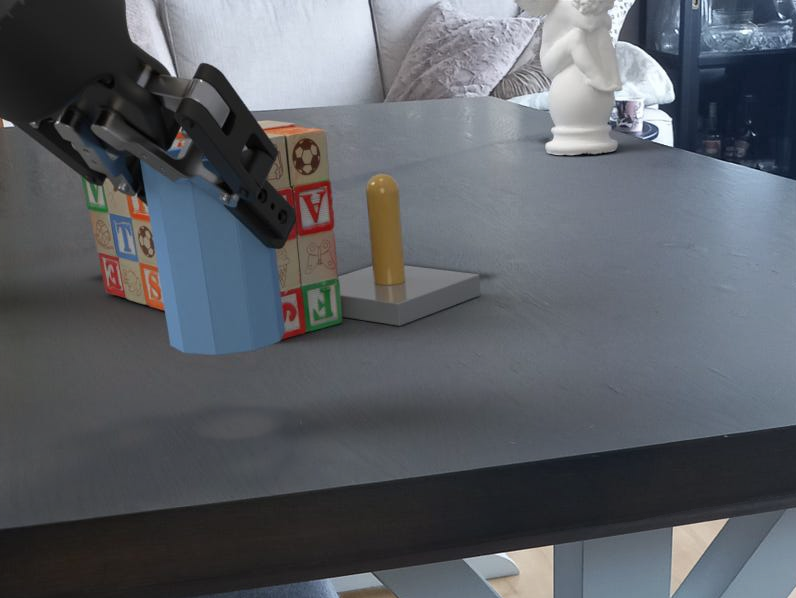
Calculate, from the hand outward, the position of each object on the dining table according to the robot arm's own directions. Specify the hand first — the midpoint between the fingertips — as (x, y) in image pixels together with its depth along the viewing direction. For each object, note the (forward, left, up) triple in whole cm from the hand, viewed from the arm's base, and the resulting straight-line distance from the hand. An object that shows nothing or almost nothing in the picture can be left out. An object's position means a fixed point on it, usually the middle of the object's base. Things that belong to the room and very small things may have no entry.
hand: (239, 227), depth 61 cm
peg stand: (-9, +21, -10) cm, 25 cm away
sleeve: (0, -2, -5) cm, 6 cm away
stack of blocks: (-19, +15, -10) cm, 26 cm away
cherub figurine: (-37, +87, -10) cm, 95 cm away
